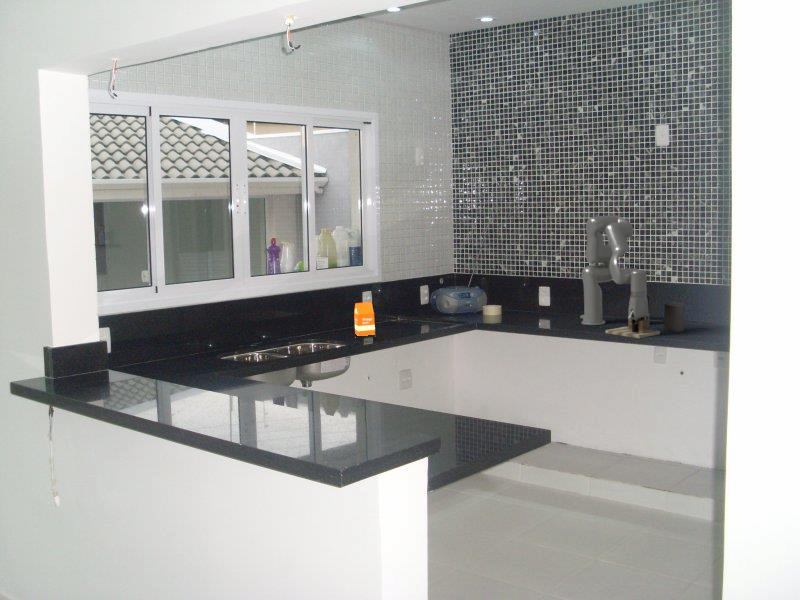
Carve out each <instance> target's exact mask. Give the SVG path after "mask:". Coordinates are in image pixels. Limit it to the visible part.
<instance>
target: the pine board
mask: <svg viewBox="0 0 800 600" xmlns="http://www.w3.org/2000/svg"><path fill="white" fill-rule="evenodd" d="M604 332H605V334H608V335H609V334H610V335H614V336H620V337H621V336H622V337H628V338H635V339H642V338H649V337H651V336H658V335H660V334H661V331H660V330H653V329H649V332H647V333H637V332H630V331H628V326H622V327H621V326H620V327H617V328H616V327H615V328H610V329H605V331H604Z"/></svg>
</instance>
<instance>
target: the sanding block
mask: <svg viewBox="0 0 800 600" xmlns="http://www.w3.org/2000/svg"><path fill="white" fill-rule="evenodd" d="M627 319H628V318H627ZM634 320H635V319H634ZM649 321H650V319H649V320H645V319H638V322H637V324H638V332H637V333H647V332H649V330H650V325H649ZM627 323H628V324H627V325H628V326H627V327H628V331H630V332H633V331H632V324H631V321H630V320H629V319H628V322H627Z"/></svg>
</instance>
